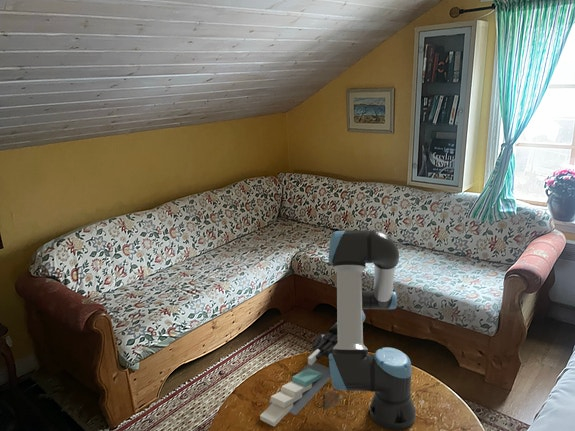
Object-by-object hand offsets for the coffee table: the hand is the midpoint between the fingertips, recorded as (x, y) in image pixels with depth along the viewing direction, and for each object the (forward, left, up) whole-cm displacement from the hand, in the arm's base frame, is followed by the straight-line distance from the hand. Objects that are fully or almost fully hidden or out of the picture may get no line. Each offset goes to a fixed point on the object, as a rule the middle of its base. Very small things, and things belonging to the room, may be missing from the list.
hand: (309, 361), depth 173 cm
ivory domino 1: (0, +10, -7) cm, 12 cm away
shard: (-13, +5, -10) cm, 17 cm away
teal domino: (0, -3, -7) cm, 8 cm away
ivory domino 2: (0, +16, -7) cm, 17 cm away
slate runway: (0, +4, -9) cm, 10 cm away
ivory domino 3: (0, +4, -7) cm, 8 cm away
